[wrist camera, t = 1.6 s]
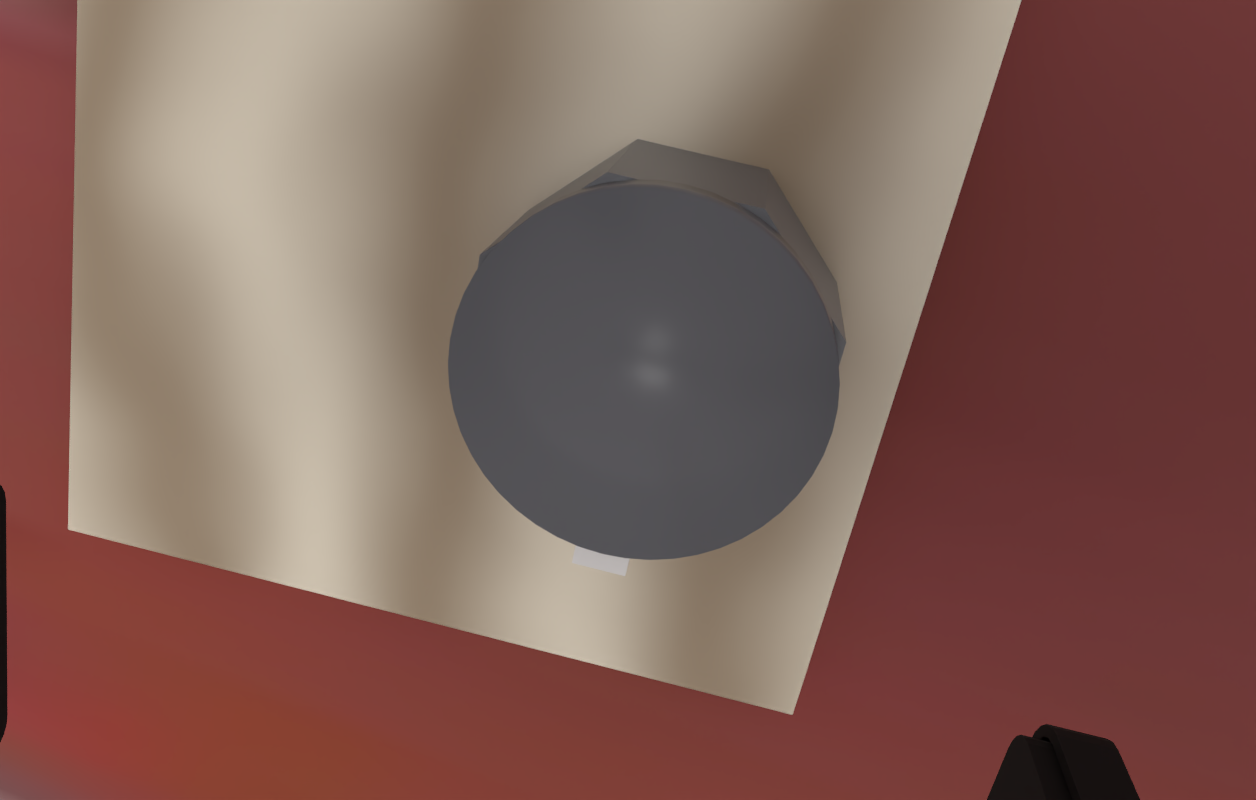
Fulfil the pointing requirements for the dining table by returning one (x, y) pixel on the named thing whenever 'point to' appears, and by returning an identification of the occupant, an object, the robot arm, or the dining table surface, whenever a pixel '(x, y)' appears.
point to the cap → (650, 357)
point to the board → (442, 269)
